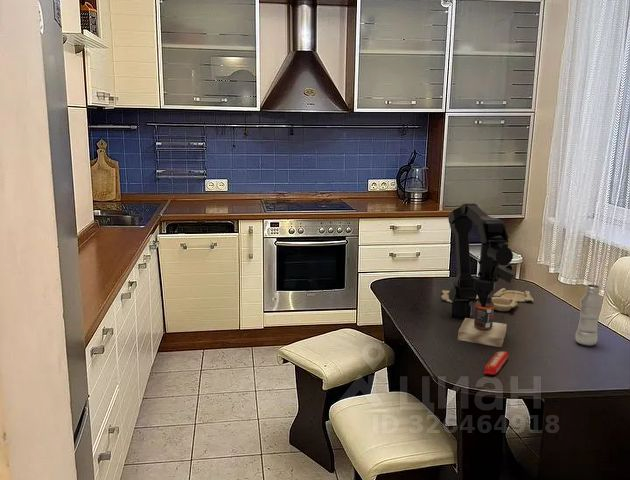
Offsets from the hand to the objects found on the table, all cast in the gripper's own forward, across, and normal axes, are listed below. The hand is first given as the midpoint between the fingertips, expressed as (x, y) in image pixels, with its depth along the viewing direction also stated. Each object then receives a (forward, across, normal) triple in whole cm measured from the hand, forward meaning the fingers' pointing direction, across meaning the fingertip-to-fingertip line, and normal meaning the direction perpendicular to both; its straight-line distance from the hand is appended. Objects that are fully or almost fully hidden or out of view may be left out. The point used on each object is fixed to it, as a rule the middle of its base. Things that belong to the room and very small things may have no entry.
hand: (485, 302), depth 191 cm
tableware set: (+12, +42, +4) cm, 44 cm away
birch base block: (+12, 0, 0) cm, 12 cm away
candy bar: (+13, -22, -7) cm, 27 cm away
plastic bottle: (+12, +8, -32) cm, 35 cm away
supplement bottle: (+9, 0, 0) cm, 9 cm away
